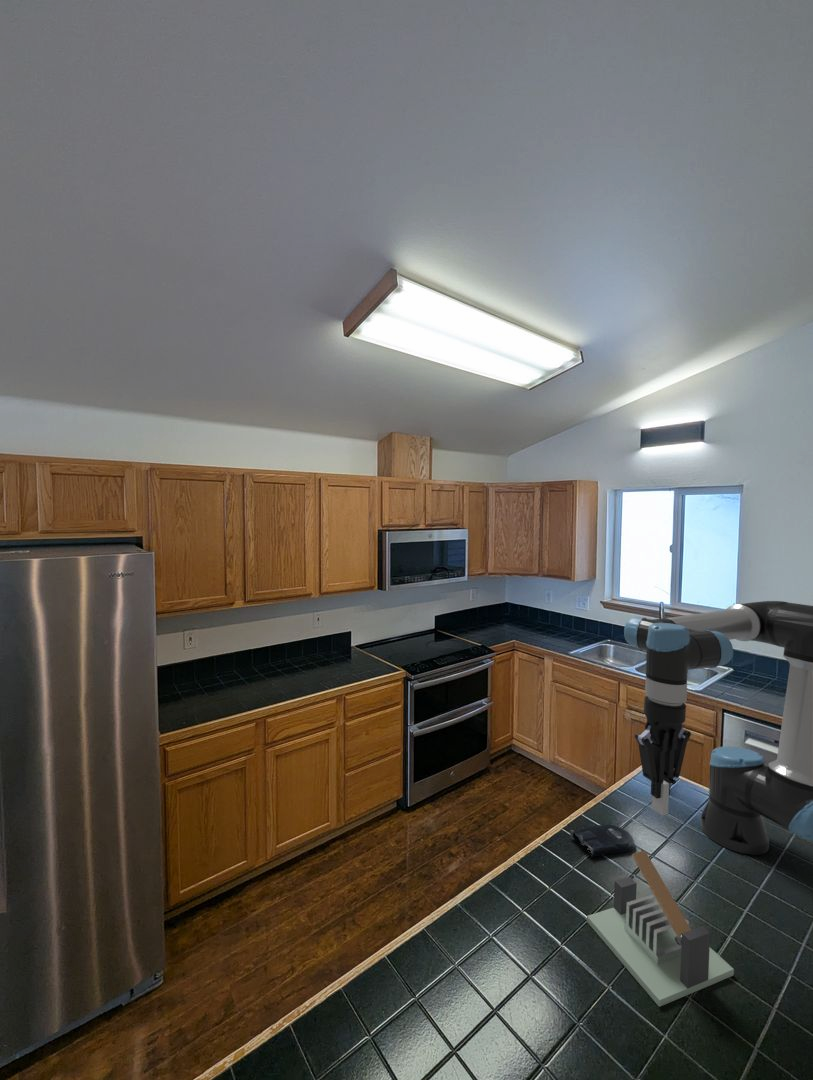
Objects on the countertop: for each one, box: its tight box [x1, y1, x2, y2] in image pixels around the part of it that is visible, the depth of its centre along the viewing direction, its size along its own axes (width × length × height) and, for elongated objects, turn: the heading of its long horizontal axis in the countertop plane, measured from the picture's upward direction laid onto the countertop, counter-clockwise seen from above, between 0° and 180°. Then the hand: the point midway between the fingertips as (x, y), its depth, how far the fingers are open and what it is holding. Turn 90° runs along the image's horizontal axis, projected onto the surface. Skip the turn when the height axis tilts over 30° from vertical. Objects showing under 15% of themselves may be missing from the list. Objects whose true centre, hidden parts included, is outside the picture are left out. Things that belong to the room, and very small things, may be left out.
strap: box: [631, 850, 692, 945], centre depth 90 cm, size 4×15×1 cm
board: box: [586, 876, 735, 1008], centre depth 91 cm, size 18×18×10 cm
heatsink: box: [624, 893, 690, 965], centre depth 91 cm, size 8×8×6 cm
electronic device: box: [569, 823, 635, 858], centre depth 120 cm, size 9×6×15 cm
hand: (659, 811), depth 96 cm, fingers closed
